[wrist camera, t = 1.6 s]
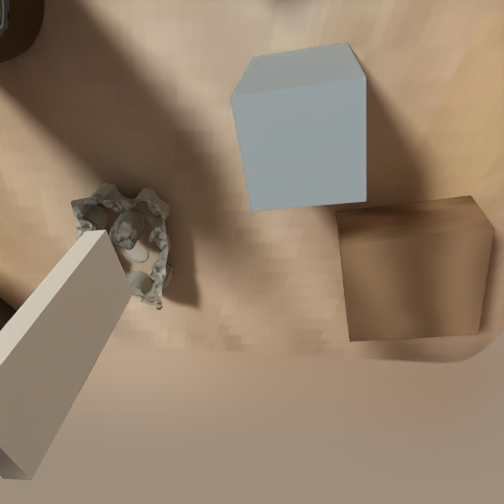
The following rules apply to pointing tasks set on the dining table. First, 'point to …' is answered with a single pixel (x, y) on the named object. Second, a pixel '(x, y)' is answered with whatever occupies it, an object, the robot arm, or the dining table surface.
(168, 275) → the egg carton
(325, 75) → the slate block
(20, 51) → the olive oil
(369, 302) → the walnut block
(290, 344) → the dining table surface
